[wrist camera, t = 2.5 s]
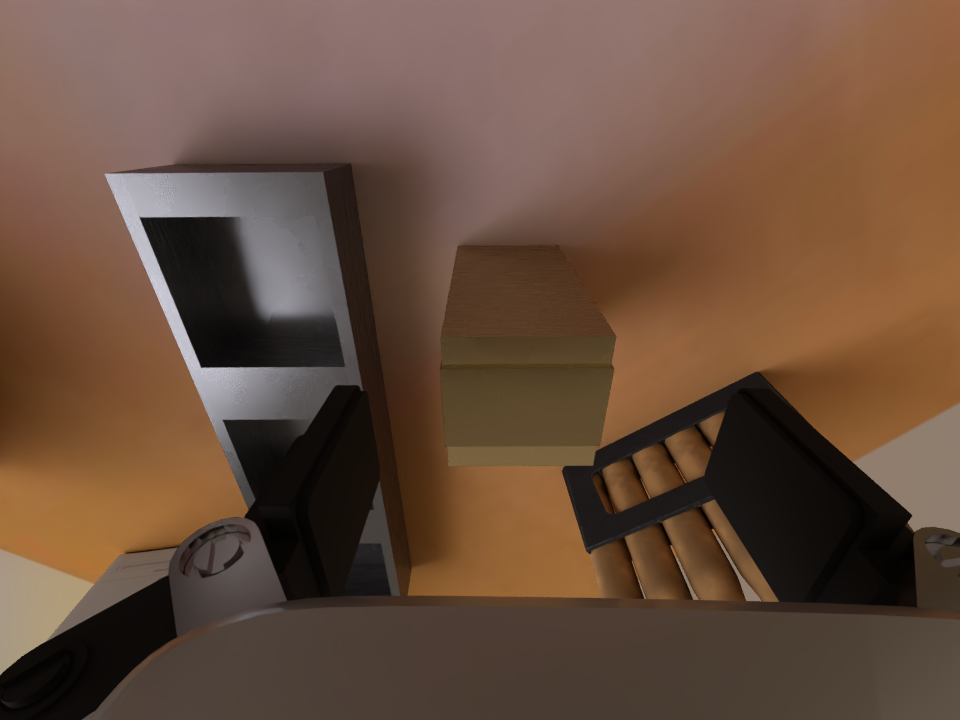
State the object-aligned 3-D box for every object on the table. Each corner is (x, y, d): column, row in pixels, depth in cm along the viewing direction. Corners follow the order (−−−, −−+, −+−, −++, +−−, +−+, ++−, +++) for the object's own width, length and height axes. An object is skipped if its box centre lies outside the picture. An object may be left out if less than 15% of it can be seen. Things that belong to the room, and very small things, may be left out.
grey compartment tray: (171, 164, 15) (104, 173, 12) (350, 163, 15) (322, 172, 12) (312, 568, 27) (294, 616, 24) (411, 568, 27) (404, 616, 24)
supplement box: (223, 535, 25) (25, 852, 14) (276, 601, 29) (151, 894, 18) (116, 550, 26) (-150, 862, 15) (181, 613, 30) (6, 901, 19)
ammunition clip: (577, 487, 23) (656, 785, 13) (560, 468, 22) (630, 768, 12) (769, 396, 20) (1086, 694, 10) (758, 370, 19) (1087, 663, 9)
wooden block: (456, 245, 16) (437, 339, 9) (559, 245, 16) (619, 338, 9) (459, 336, 18) (446, 469, 11) (551, 335, 18) (595, 468, 11)
